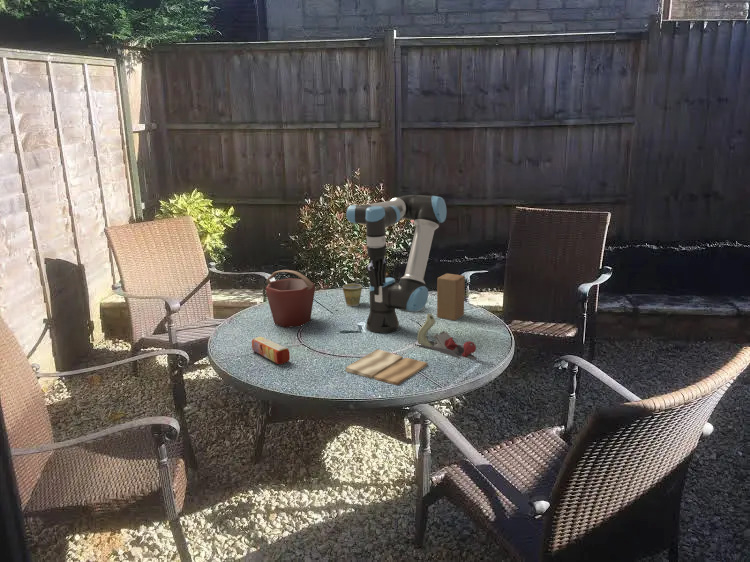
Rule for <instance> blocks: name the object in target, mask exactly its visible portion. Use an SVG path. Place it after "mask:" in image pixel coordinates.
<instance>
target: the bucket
mask: <svg viewBox="0 0 750 562" xmlns="http://www.w3.org/2000/svg"><path fill="white" fill-rule="evenodd" d="M279 273H288V274H293V275H295V276H296V277H298V278H290V277H289V278H283V279H277V280H272V281H271V279H273V278H275V276H277V274H279ZM266 284H267V285H266V286H265V291H266V292H265V294H266V297H267V301H268V305H269V308H270V312H271V317H272V319H273V324H274V323H275V324H274V325H276V324H278V325H277V326H279V325H281V326H280V327H282V326H283V327H282V328H291V327H290V326H301V325H303V324H305V323H307V322H309V321H310V322H311V318H312V310H313V306H314V305H313V304H314V300H315V299H314V298H315V292H316V286H315V283H313V281H311V280H310V279H309V278H308V277H306V276H305V275H304V274H303V273H301V272H299V271H296V270H291V269H290V270H289V269H281V270H277V271H274V272H272V274H271V275H270V276H269V277H267V279H266ZM310 322H309V323H310ZM307 324H308V323H307ZM305 325H306V324H305ZM303 326H304V325H303ZM301 327H302V326H301Z"/></svg>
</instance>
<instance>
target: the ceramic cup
mask: <svg viewBox="0 0 750 562" xmlns="http://www.w3.org/2000/svg"><path fill="white" fill-rule="evenodd" d="M362 289H363V285H362V284H360V283H346V284H343V285H342V291H343V294H344V295H343V296H344V300H345V303H346V306H347V307H351V306H352V307H358V306H359V305H360V301H361V296H362Z"/></svg>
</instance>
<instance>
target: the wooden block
mask: <svg viewBox="0 0 750 562" xmlns="http://www.w3.org/2000/svg"><path fill="white" fill-rule="evenodd" d="M465 277H466V276H465V275H462V274H453V273H448V272H446V273H445V274H443V275H441V276H439V277H437V283H436V284H437V285H436V286H437V287H436V289H437V290H436V291H437V293H436V296H437V297H436V305H437V306H436V317H437V318H439V319H445V320H451V321H457V320H458V319H461V317H463V316H464V315H465V287H466V286H465Z"/></svg>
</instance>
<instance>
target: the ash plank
mask: <svg viewBox="0 0 750 562" xmlns="http://www.w3.org/2000/svg"><path fill="white" fill-rule="evenodd" d="M402 359H404V358H403V356H401V355H398V354H394V353H391V352H388V351H385V350H382V349H379V348H377V349H376V350H373V351H372V352H370V353H368V354H366V355H365V356H362V358H360V359H358V360H356V361H354V362H352V363H351V364H349V365H347V366H345V372H346V373H351V374H353V375H358V376H361V377H365V378H368V379H373V378H374V379H375V376H377V375H378V374H380V373H381V372H383V371H385V370H386V369H388V368H390V367H391V366H393V365H394V364H396V363H398V362H399V361H401V360H402Z"/></svg>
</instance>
